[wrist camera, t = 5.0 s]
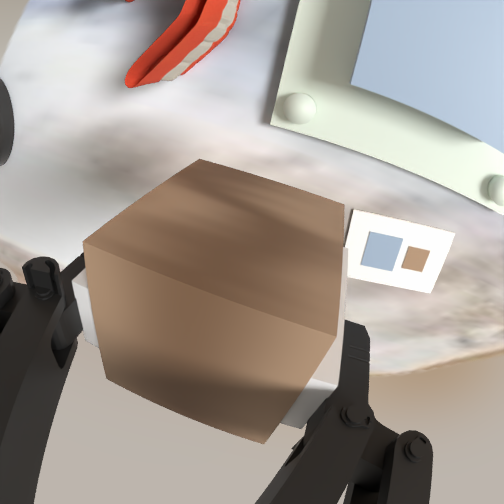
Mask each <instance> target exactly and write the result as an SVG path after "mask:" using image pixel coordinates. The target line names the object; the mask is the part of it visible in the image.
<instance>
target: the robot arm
mask: <svg viewBox="0 0 504 504" xmlns="http://www.w3.org/2000/svg"><path fill="white" fill-rule="evenodd" d="M13 136H14V119H13V111H12V105H11V101H10V97H9V94H8V91H7V89H6V87H5V85H4V83H3V81H2V80H1V79H0V166H2V165H3V164H4V163H5V162H6V161H7V159H8V157H9V155H10V152H11V149H12V144H13ZM22 269H23V273H24V276H25V280H26V283H27V285H26V284H21V283H16V282H13V281H12V278H11V274H10V272H9V271H8V270H6V269H3V268H0V504H34V498H35V493H36V488H37V483H38V478H39V473H40V469H41V465H42V460H43V456H44V452H45V448H46V444H47V440H48V437H49V433H50V429H51V426H52V422H53V419H54V415H55V412H56V408H57V405H58V402H59V399H60V395H61V393H62V390H63V386H64V383H65V381H66V378H67V375H68V372H69V369H70V366H71V363H72V360H73V358H74V355H75V352H76V349H77V344H78V341H77V336H78V335H79V334H80V333H81V331H82V330H83V333H84V337H85V340H86V341H87V342H89V343H91V344H92V345H94V346H96V347H98V348H99V344H98V340H97V335H96V330H95V325H94V319H93V314H92V308H91V302H90V296H89V289H88V282H87V275H86V267H85V258H84V252H83V253H82V254H81V256H78V257H77V258H76V259H75V260H74V261H73V262H72V263H70V264H69V265H68V266H67V267H66V268H65V269H64V270H63V271H62V272H60V269H59V264H58V263H57V262H56V260H55V259H52V258H50V257H37V258H33V259H31V260H29V261H28V262H26V263H25V264H24V265H23V266H22ZM347 272H348V248H346V247H343V261H342V278H341V293H340V306H339V318H338V329H337V337H336V339H335V340H334V342H333V344H332V345H331V347H330V349H329V350H328V352H327V353H326V355H325V357H324V358H323V360H322V361H321V363H320V365H319V366H318V368H317V369H316V371H315V372H314V374H313V375H312V377H311V378H310V380H309V382H308V383H307V385H306V386H305V388H304V389H303V391H302V392H301V393H300V395H299V396H298V398H297V399H296V401H295V402H294V404H293V405H292V407H291V408H290V409H289V411H288V412H287V414H286V415H285V416H284V418H283V419H282V421H281V422H280V423H282V424H285V425H289V426H292V427H296V428H299V429H301V428H303V427H304V425H305V424H306V423H307V426H306V430H305V435H304V437H302V438H301V439H300V440H299V441H298V442H297V444H295V445H294V447H293V448H292V449H293V451H292V452H291V454H290V455H289V457H288V459H287V460H286V461H285V463H284V464H283V466H282V467H281V469H280V470H279V471H278V473H277V474H276V476H275V477H274V479H273V480H272V481H271V483H270V484H269V485H268V487H267V488H266V489H265V491H264V492H263V494H262V495H261V496H260V497H259V499H258V500H257V501H256V503H255V504H337V503H338V501H339V499H340V497H341V495H342V493H343V491H344V490H345V488H346V486H347V484H348V486H347V491H346V495H345V499H344V503H343V504H429V499H430V489H431V479H432V464H433V463H432V462H433V451H432V445H431V443H430V441H429V439H428V438H427V437H426V436H425V435H424V434H422V433H420V432H418V431H411V430H409V431H406V432H404V433H402V434H401V435H399V434H397V433H395V432H394V431H392V430H390V429H389V428H387V427H385V426H383V425H382V424H381V423H379V422H378V421H377V420H376V419H375V417H374V412H373V410H372V409H371V407H370V406H369V404H368V390H369V365H370V363H369V361H370V353H369V351H370V338H369V335H368V333H367V330H366V328H365V326H363V325H360V324H357V323H354V322H351V321H348V320H345V307H346V292H347Z"/></svg>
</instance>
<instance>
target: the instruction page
mask: <svg viewBox="0 0 504 504" xmlns="http://www.w3.org/2000/svg"><path fill="white" fill-rule="evenodd" d="M454 236H455V232H451V231H447V230H443V229H439V228H435V227H431V226H427V225H423V224H419V223H415V222H410V221H406V220H402V219H397V218H393V217H389V216H384V215H380V214H375V213H371V212H366V211H361V210H356V209H354V210H353V214H352V219H351V223H350V227H349V232H348V236H347V240H346V244H345V247H346V248H348V272H347V277H350V278H355V279H360V280H365V281H370V282H375V283H380V284H385V285H390V286H395V287H400V288H405V289H410V290H415V291H420V292H425V293H431V291H432V289H433V286H434V284H435V282H436V280H437V277H438V275H439V273H440V271H441V268H442V266H443V263H444V261H445V259H446V256H447V254H448V251H449V249H450V246H451V244H452V241H453V238H454Z"/></svg>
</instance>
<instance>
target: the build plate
mask: <svg viewBox="0 0 504 504" xmlns="http://www.w3.org/2000/svg"><path fill="white" fill-rule="evenodd" d="M369 5H370V0H300V2H299V6H298V10H297V14H296V18H295V22H294V26H293V30H292V34H291V39H290V43H289V47H288V51H287V55H286V59H285V64H284V68H283V72H282V76H281V80H280V85H279V89H278V93H277V97H276V102H275V106H274V110H273V114H272V119H271V123H270V125H273V126H277V127H281V128H284V129H288V130H291V131H295V132H298V133H302V134H305V135H309V136H312V137H315V138H318V139H322V140H325V141H328V142H331V143H334V144H337V145H340V146H343V147H346V148H349V149H352V150H355V151H358V152H361V153H363V154H366V155H369V156H372V157H374V158H377V159H380V160H382V161H385V162H388V163H390V164H393V165H395V166H398V167H400V168H403V169H405V170H408V171H410V172H413V173H415V174H417V175H420V176H422V177H425V178H427V179H429V180H431V181H434V182H436V183H438V184H441V185H443V186H445V187H447V188H449V189H451V190H454V191H456V192H458V193H460V194H462V195H464V196H466V197H468V198H470V199H472V200H474V201H476V202H478V203H480V204H482V205H484V206H486V207H488V208H490V209H492V210H494V211H496V212H498V213H500V214H501V215H503V216H504V154H503V153H502V152H500V151H498V150H497V149H495V148H493V147H492V146H490V145H488V144H486V143H484V142H483V141H481V140H479V139H477V138H475V137H474V136H472V135H470V134H468V133H466V132H464V131H462V130H460V129H458V128H456V127H454V126H452V125H450V124H448V123H446V122H444V121H442V120H440V119H438V118H436V117H433V116H431V115H429V114H427V113H424V112H422V111H420V110H418V109H415V108H413V107H411V106H408V105H406V104H403V103H401V102H398V101H396V100H393V99H391V98H388V97H385V96H383V95H380V94H377V93H375V92H372V91H369V90H366V89H363V88H360V87H357V86H354V85H351V84H350V83H349V82H350V78H351V75H352V71H353V67H354V63H355V60H356V56H357V52H358V48H359V44H360V41H361V37H362V33H363V29H364V25H365V21H366V17H367V13H368V9H369Z"/></svg>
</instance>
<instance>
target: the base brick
mask: <svg viewBox="0 0 504 504" xmlns="http://www.w3.org/2000/svg"><path fill="white" fill-rule="evenodd" d="M349 83H350V84H351V85H354V86H357V87H360V88H363V89H366V90H369V91H372V92H375V93H377V94H380V95H383V96H385V97H388V98H391V99H393V100H396V101H398V102H401V103H403V104H406V105H408V106H411V107H413V108H415V109H418V110H420V111H422V112H424V113H427V114H429V115H431V116H433V117H436V118H438V119H440V120H442V121H444V122H446V123H448V124H450V125H452V126H454V127H456V128H458V129H460V130H462V131H464V132H466V133H468V134H470V135H472V136H474V137H475V138H477V139H479V140H481V141H483V142H484V143H486V144H488V145H490V146H492V147H493V148H495V149H497V150H498V151H500V152H502V153H503V154H504V0H370V5H369V9H368V13H367V17H366V21H365V25H364V29H363V33H362V37H361V41H360V44H359V48H358V52H357V56H356V60H355V63H354V67H353V71H352V75H351V78H350V82H349Z"/></svg>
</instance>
